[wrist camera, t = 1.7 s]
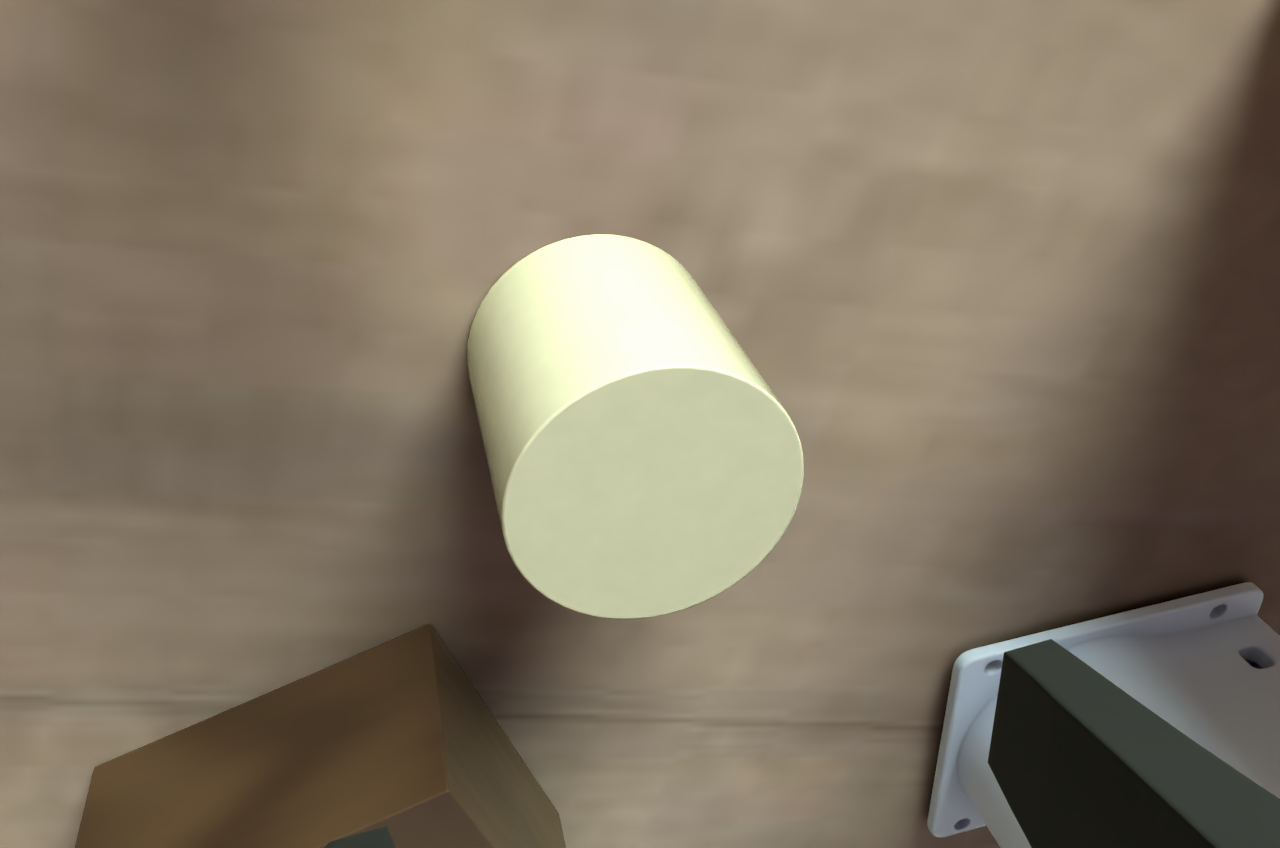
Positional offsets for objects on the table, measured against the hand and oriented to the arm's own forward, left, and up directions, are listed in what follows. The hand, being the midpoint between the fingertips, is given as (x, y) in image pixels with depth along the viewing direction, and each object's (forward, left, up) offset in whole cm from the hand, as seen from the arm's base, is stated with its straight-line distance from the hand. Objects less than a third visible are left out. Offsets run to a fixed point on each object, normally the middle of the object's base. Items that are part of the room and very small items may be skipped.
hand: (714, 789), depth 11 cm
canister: (-1, 0, -10) cm, 10 cm away
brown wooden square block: (+6, +11, -10) cm, 16 cm away
